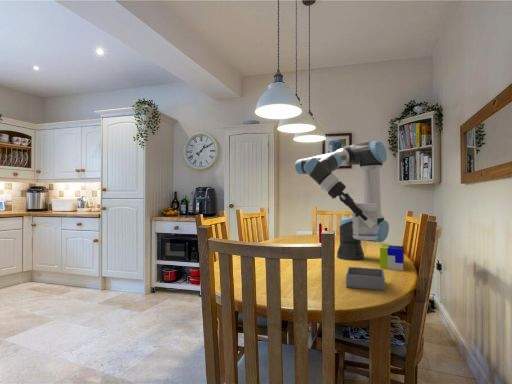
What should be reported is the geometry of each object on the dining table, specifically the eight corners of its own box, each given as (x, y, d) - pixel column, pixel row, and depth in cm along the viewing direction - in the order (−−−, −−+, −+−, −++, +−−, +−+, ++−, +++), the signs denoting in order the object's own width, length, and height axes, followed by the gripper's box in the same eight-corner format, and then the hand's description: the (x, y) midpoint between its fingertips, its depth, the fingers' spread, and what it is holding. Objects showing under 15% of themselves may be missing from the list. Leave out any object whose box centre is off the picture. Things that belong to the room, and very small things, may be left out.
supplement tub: (382, 239, 123) (382, 203, 123) (367, 241, 117) (367, 203, 118) (362, 237, 131) (362, 203, 131) (347, 238, 126) (347, 203, 126)
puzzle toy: (402, 270, 143) (402, 249, 143) (380, 268, 148) (380, 247, 148) (404, 266, 152) (403, 246, 152) (382, 264, 156) (382, 244, 157)
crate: (348, 278, 129) (348, 266, 129) (383, 281, 124) (383, 269, 124) (346, 287, 116) (346, 274, 116) (384, 291, 111) (384, 277, 112)
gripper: (330, 193, 141) (366, 229, 134) (322, 192, 120) (365, 233, 114) (342, 182, 139) (379, 217, 132) (336, 178, 118) (380, 220, 112)
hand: (373, 225), depth 123 cm, fingers closed on supplement tub, 9 cm apart
